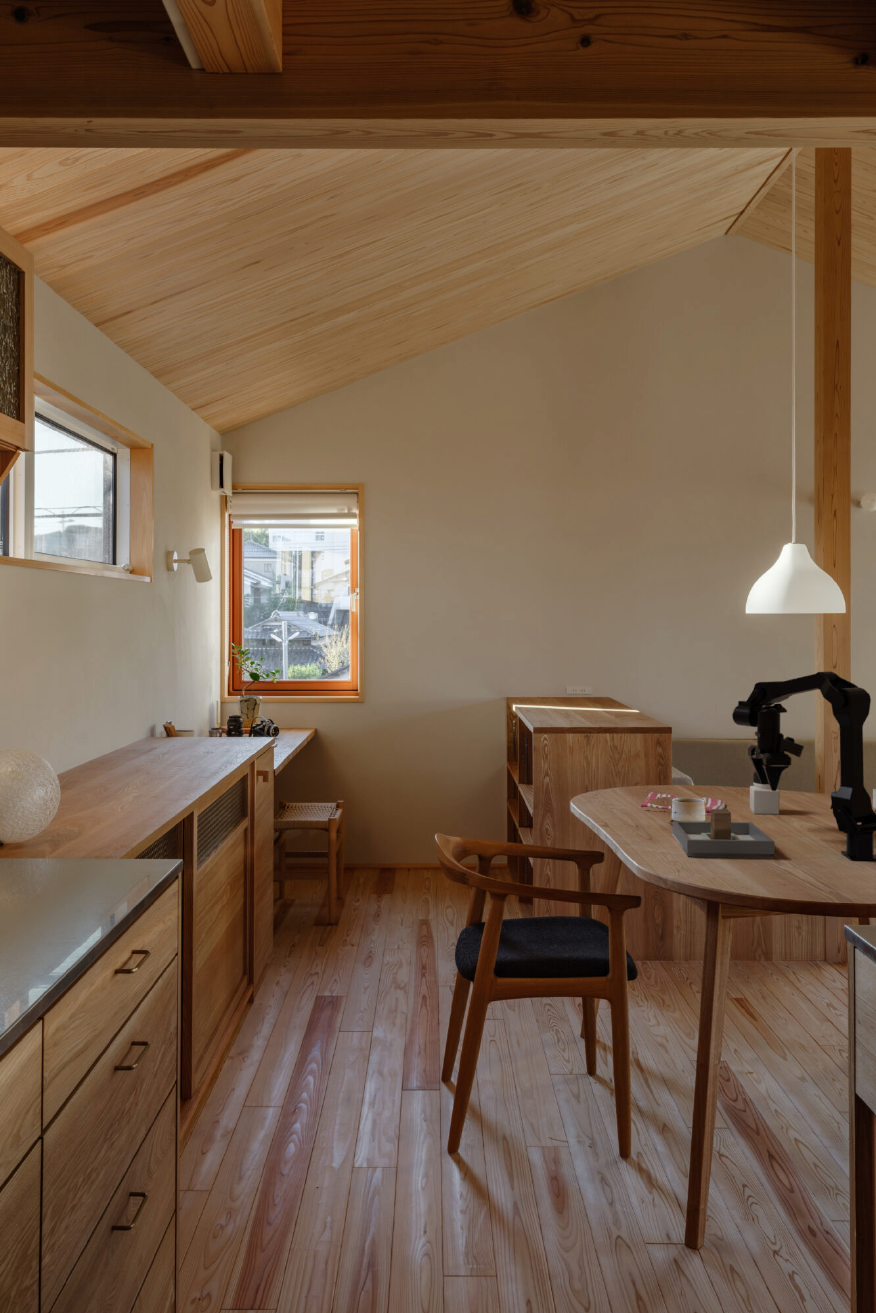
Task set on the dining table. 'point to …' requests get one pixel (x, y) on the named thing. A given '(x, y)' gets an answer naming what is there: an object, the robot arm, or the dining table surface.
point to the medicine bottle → (763, 798)
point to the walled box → (723, 841)
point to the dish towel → (709, 802)
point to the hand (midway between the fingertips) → (768, 787)
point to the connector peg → (720, 824)
